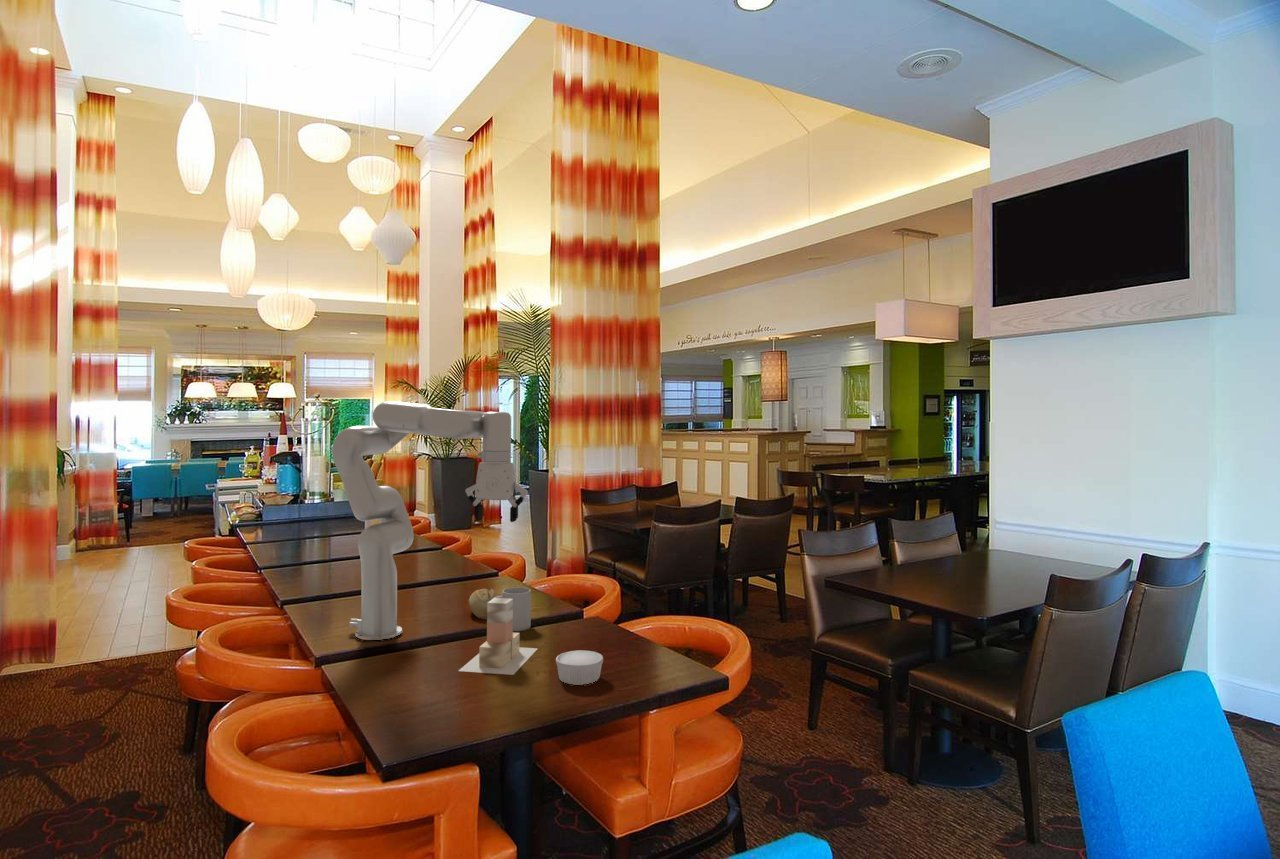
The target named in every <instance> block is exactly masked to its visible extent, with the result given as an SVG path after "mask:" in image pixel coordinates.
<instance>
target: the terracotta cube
mask: <svg viewBox="0 0 1280 859" xmlns="http://www.w3.org/2000/svg"><path fill="white" fill-rule="evenodd" d="M513 632H514V631H513V618H512V619H511V620H510V621H509V622H507V623H489V622H487V621H486V641H487V642H495V643H507V642H508V641H509V640H510V639H511V638H512V637H513Z"/></svg>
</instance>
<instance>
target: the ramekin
mask: <svg viewBox="0 0 1280 859" xmlns="http://www.w3.org/2000/svg"><path fill="white" fill-rule="evenodd" d="M603 663H604V655H602V654H601V653H599V652H597V651H592V650H584V649H583V650H580V649H579V650H570V651H565V652H562V653H560V654H558V655H557V656H556V658H555V664H556V668H557V674H558V678H559V680H560V681H561V682H562V683H563V682H564V683H563V684H565V683H568V684H573V685H583V684H589V683H592V684H594V683H593V682H595V681H596V682H598V680H599V679H600V676H601V672H602V665H603ZM596 682H595V683H596ZM573 685H572V686H573ZM589 685H590V684H589Z"/></svg>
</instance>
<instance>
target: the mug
mask: <svg viewBox="0 0 1280 859" xmlns="http://www.w3.org/2000/svg"><path fill="white" fill-rule="evenodd" d="M531 595H532V591H531V589H530V588H528V587H523V586H522V587H521V586H518V587H517V586H515V587H507V588H504V589H503V590H502V592H501V595H499V596H497V597H494V598H508V599H513V632H523V631H527V630H528V629H530V628H531V627H532V626H531V625H532V623H531V622H532V621H531V620H532V619H531V617H532V616H531V611H532V610H531V608H532V604H531V602H532V596H531Z"/></svg>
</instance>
